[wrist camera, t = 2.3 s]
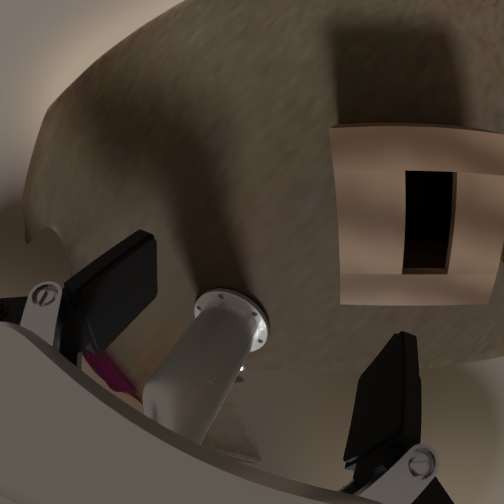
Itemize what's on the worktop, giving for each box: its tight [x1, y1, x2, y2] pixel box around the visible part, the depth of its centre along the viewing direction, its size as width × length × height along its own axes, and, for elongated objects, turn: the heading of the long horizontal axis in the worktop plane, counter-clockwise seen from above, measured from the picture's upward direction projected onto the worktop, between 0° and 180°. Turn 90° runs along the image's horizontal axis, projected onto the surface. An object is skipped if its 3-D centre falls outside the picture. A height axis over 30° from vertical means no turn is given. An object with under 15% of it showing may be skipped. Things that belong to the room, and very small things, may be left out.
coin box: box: [329, 123, 504, 305], centre depth 22 cm, size 14×14×11 cm
